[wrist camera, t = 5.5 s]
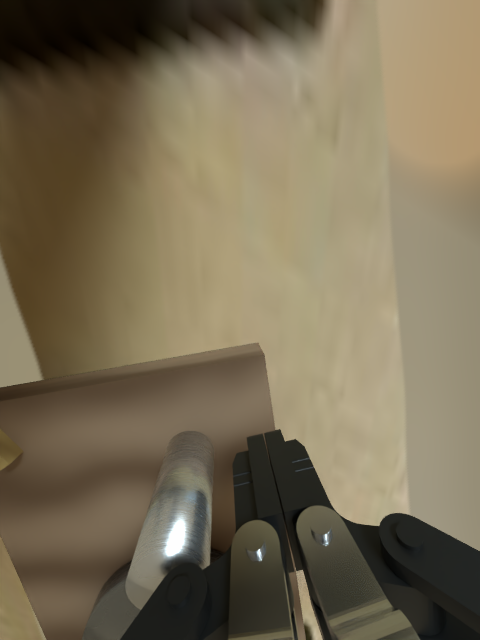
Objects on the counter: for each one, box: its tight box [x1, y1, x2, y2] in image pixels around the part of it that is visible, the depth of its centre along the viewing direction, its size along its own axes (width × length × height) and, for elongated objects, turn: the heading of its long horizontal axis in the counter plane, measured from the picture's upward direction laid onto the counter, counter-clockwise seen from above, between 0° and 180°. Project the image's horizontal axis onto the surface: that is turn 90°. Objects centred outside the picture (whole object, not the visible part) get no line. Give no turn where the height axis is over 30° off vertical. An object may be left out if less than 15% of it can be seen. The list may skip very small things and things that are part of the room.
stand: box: [0, 343, 306, 640], centre depth 18 cm, size 24×18×4 cm
